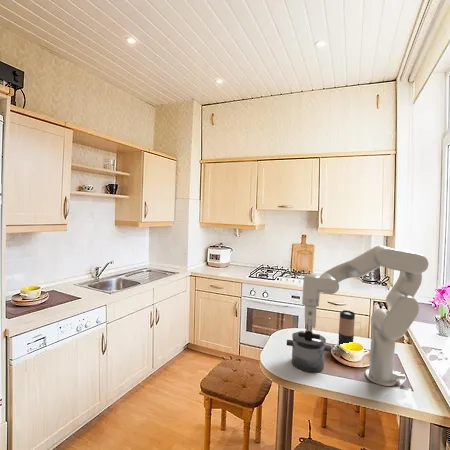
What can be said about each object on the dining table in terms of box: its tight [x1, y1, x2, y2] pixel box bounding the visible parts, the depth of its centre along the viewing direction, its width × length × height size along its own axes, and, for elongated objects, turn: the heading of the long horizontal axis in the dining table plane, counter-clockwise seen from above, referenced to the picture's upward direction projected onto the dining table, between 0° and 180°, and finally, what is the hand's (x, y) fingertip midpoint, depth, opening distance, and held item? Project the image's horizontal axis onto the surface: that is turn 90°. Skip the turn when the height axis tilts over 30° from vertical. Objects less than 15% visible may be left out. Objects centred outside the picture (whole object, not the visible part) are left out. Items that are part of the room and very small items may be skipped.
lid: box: [291, 330, 327, 346], centre depth 145 cm, size 16×16×3 cm
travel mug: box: [337, 309, 356, 345], centre depth 163 cm, size 8×8×20 cm
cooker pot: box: [286, 339, 332, 374], centre depth 145 cm, size 21×17×11 cm
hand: (308, 339), depth 139 cm, fingers closed
